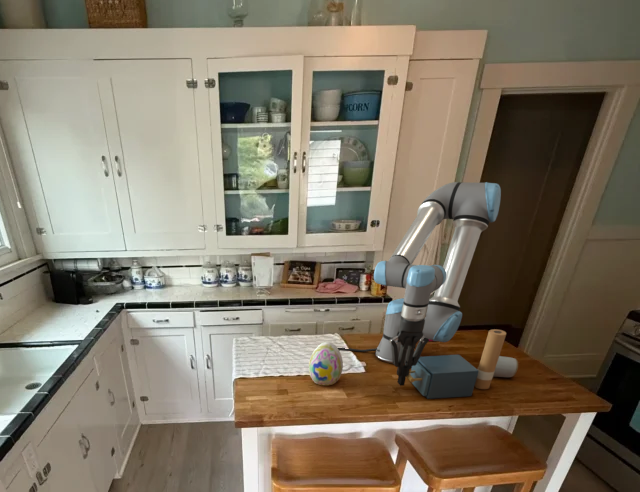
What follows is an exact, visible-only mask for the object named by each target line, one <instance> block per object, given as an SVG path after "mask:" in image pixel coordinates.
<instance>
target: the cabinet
mask: <svg viewBox="0 0 640 492" xmlns="http://www.w3.org/2000/svg"><path fill="white" fill-rule="evenodd" d="M418 362H419V363H421V364H422V365H423V366H424V367H425V368H426V369H427V370H428V371H429V372H430V373H431V374H432V376H431V381H430V385H429V389H428V392H427V396H424V397H425V398H426V399H427V400H434V399H448V398H463V397H465V398H466V397H472V396H473V394H474V393H473V392H474V389H475V382H476V379H477V376H478V372H479V371H478V368H476V367H475V366H474V365H473V364H472V363H470V362H469V361H467V360H466V359H465V358H464V357H462V355H461V354H444V355H443V354H441V355H429V356H427V355H425V356H420V358H419V360H418Z"/></svg>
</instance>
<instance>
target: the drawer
mask: <svg viewBox="0 0 640 492" xmlns="http://www.w3.org/2000/svg"><path fill="white" fill-rule="evenodd" d="M411 367H412V368H411V369H410V370H409V375H408V376H406V379H407V380H408V381H409V382H410V383H411V384H412V385H413V386H414V387H415V388H416V390H417V391H418V392H419V393H420V394H421V395H422V396H423V397H425V396H427V392H428V389H429V385H430V381H431V376H432V374H431V373H430V372H429V371H428V370H427V369H426V368H425V367H424V366H423V365H422V364H421V363H419V362H417V364H416V365H415V366H414V365H413V366H411Z"/></svg>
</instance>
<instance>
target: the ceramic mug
mask: <svg viewBox="0 0 640 492" xmlns="http://www.w3.org/2000/svg"><path fill="white" fill-rule="evenodd" d="M518 369H519V361H518V359H517V358H515V357H514V358H513V357H510V356H502V355H499V358H498V362H497V365H496V368H495V372H494V375H493V378H494V377H495V378H512V377H513V378H514V377H515V376H516V374H517V371H518Z"/></svg>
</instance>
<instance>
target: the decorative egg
mask: <svg viewBox="0 0 640 492" xmlns="http://www.w3.org/2000/svg"><path fill="white" fill-rule="evenodd" d="M337 347H338V346H336V345H335V344H334V343H332V342H331V341H324V342H322V343H321V344H319V345H318V346H316V347H315V349H313V352H312V353H311V355H310V358H309V362H308V372H309V377H310V378H311V380H312V381H313V382H314V383H315V384H316V385H319V386H323V387H324V386H325V387H326V386H332V385H334V384H336V383H337V382H338V381H339V380H340V378H341V376H342V374H343V370H344V361H343V357H342V354H341V350H339V349H338V348H337Z"/></svg>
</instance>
